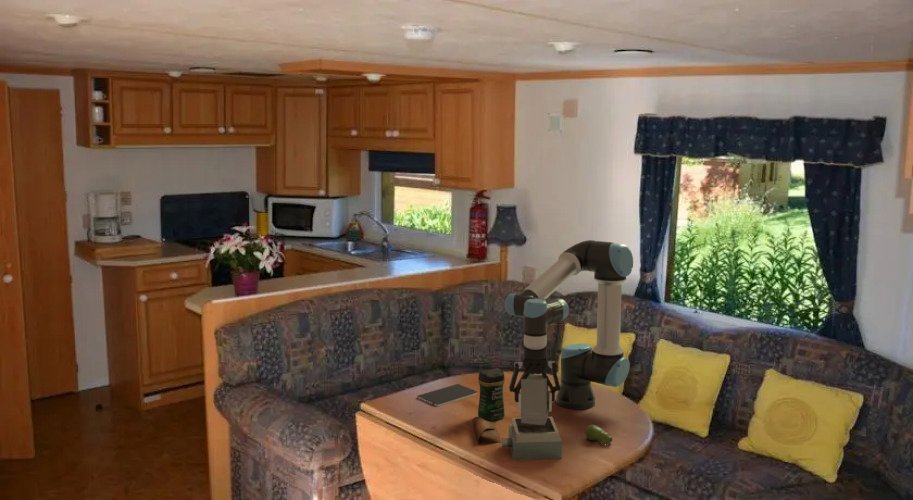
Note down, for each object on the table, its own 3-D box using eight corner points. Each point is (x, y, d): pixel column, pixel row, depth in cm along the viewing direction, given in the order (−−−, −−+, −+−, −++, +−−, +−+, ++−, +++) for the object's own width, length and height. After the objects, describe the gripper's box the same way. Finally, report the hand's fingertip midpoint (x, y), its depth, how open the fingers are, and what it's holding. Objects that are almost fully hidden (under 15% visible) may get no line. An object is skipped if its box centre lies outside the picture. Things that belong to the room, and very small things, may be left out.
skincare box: (547, 419, 274) (550, 374, 271) (543, 427, 267) (546, 381, 264) (523, 416, 276) (525, 371, 273) (518, 423, 269) (520, 378, 267)
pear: (591, 420, 284) (616, 432, 278) (589, 434, 285) (613, 445, 279) (583, 425, 280) (608, 437, 274) (580, 438, 281) (605, 450, 275)
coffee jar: (486, 423, 296) (486, 375, 293) (474, 417, 303) (474, 369, 300) (508, 418, 302) (508, 370, 298) (496, 411, 308) (496, 364, 305)
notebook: (458, 387, 337) (417, 399, 323) (458, 383, 337) (417, 395, 323) (478, 395, 327) (437, 408, 314) (478, 391, 327) (436, 404, 314)
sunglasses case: (502, 443, 279) (492, 427, 278) (485, 453, 279) (475, 438, 278) (495, 423, 297) (486, 408, 296) (479, 433, 297) (469, 418, 296)
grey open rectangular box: (554, 441, 280) (554, 416, 279) (561, 458, 267) (561, 432, 265) (500, 442, 280) (500, 418, 278) (504, 460, 266) (504, 434, 264)
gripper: (566, 342, 271) (565, 405, 275) (500, 343, 270) (500, 407, 274) (570, 348, 264) (569, 414, 267) (502, 350, 263) (502, 415, 267)
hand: (534, 410), depth 271 cm, fingers closed on skincare box, 9 cm apart
